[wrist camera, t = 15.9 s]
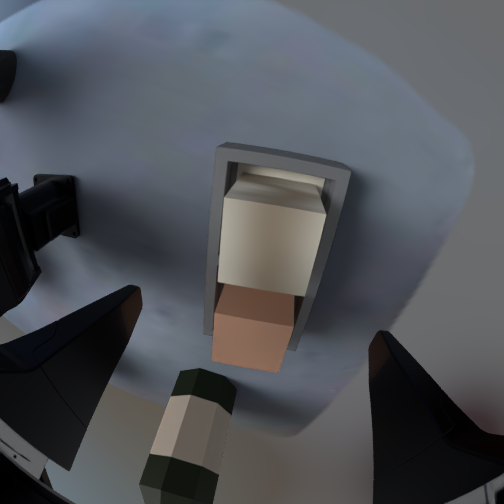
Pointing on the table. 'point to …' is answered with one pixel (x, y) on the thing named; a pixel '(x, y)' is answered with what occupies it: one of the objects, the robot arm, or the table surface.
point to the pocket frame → (281, 166)
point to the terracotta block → (252, 327)
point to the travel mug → (6, 72)
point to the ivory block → (270, 234)
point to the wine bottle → (190, 441)
